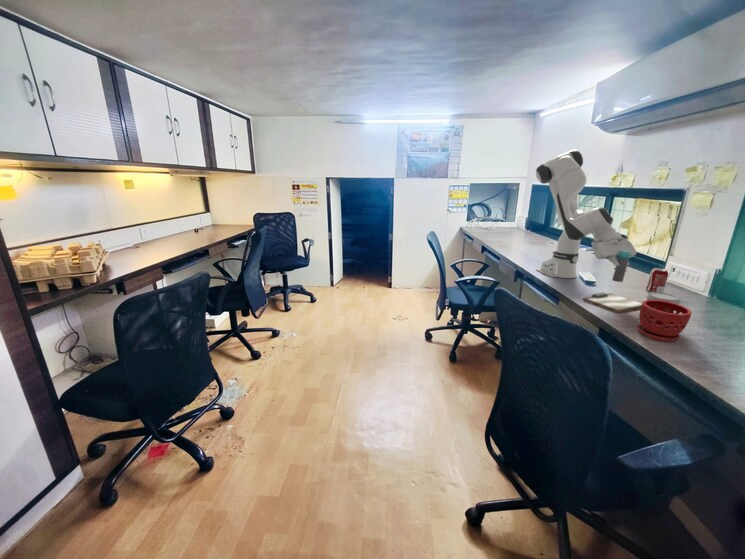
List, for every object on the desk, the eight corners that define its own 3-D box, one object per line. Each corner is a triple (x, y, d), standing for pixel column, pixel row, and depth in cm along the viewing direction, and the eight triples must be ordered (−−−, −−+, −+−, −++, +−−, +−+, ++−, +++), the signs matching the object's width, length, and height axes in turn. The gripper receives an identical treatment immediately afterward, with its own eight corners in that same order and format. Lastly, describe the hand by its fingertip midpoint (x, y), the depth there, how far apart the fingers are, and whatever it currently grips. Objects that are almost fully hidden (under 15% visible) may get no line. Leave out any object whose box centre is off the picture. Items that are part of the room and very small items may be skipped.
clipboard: (582, 300, 149) (583, 295, 148) (610, 295, 155) (611, 291, 154) (617, 313, 134) (618, 307, 134) (646, 307, 140) (647, 302, 140)
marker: (610, 279, 143) (617, 251, 139) (615, 278, 144) (623, 250, 140) (619, 282, 139) (627, 253, 135) (625, 281, 141) (633, 252, 137)
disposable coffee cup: (633, 318, 129) (641, 291, 125) (657, 319, 128) (665, 291, 125) (652, 329, 120) (661, 300, 116) (678, 329, 119) (687, 300, 116)
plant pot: (626, 331, 118) (634, 302, 114) (648, 326, 122) (656, 297, 119) (667, 348, 106) (677, 315, 103) (690, 341, 110) (701, 310, 107)
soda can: (666, 294, 156) (673, 271, 153) (650, 293, 158) (657, 270, 154) (657, 289, 163) (663, 267, 159) (642, 289, 164) (648, 267, 160)
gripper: (595, 236, 140) (610, 263, 134) (630, 235, 145) (646, 261, 139) (584, 244, 145) (598, 270, 139) (618, 243, 150) (633, 268, 144)
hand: (622, 265), depth 139 cm, fingers closed on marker, 4 cm apart
